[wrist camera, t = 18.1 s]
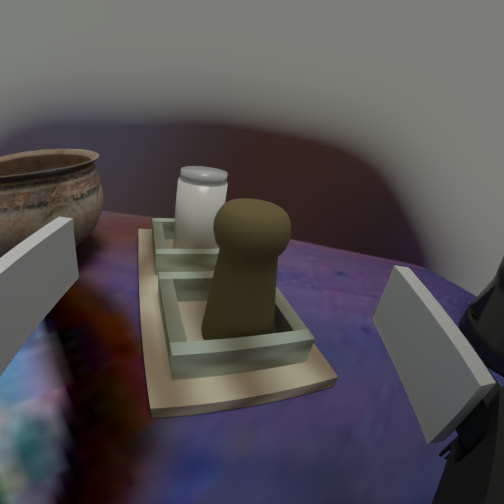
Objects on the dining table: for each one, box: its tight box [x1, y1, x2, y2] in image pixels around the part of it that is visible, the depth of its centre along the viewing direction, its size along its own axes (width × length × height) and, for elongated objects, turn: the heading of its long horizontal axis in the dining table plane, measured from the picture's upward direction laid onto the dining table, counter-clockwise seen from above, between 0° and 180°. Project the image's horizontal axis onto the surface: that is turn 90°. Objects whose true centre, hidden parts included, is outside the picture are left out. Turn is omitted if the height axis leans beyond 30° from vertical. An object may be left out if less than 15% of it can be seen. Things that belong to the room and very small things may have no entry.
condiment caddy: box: [139, 218, 338, 418], centre depth 30 cm, size 14×29×4 cm, turn 20°
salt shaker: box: [173, 166, 228, 249], centre depth 34 cm, size 6×6×10 cm
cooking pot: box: [0, 149, 103, 258], centre depth 28 cm, size 25×19×12 cm
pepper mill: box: [201, 198, 291, 340], centre depth 22 cm, size 6×6×11 cm
